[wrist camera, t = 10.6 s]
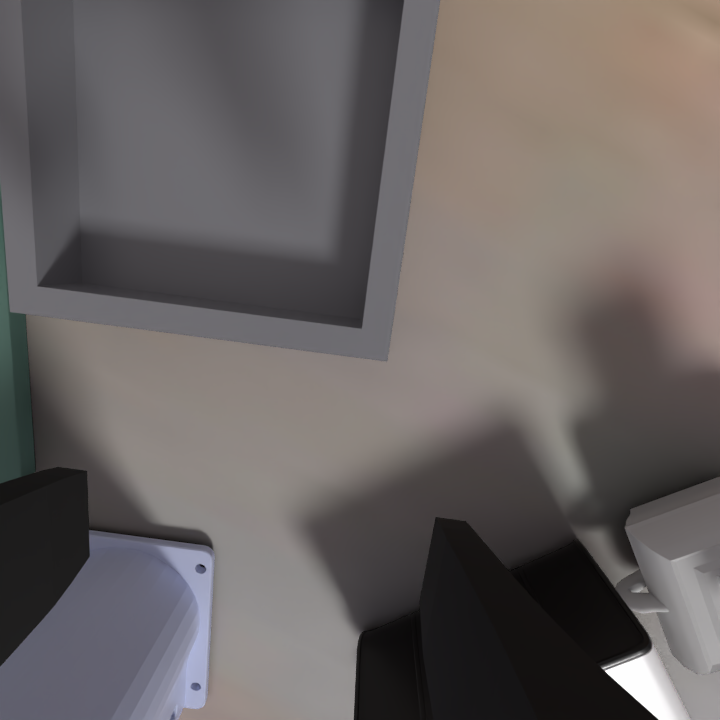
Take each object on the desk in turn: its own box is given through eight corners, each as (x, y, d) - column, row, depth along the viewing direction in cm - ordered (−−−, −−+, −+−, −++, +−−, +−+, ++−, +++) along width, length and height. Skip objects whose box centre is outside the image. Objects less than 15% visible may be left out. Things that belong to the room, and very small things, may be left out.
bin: (385, 344, 17) (387, 361, 14) (72, 303, 17) (9, 312, 14) (439, -32, 14) (456, -109, 11) (57, -80, 14) (-26, -169, 11)
